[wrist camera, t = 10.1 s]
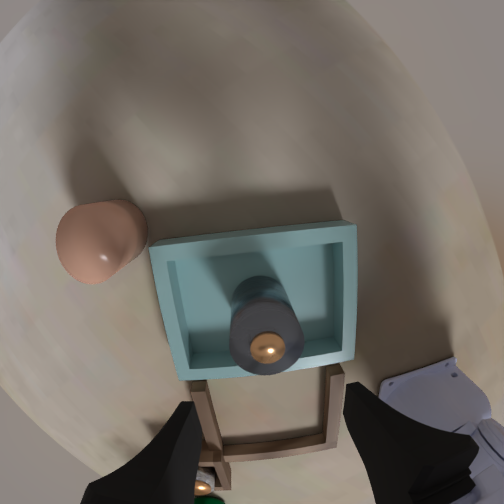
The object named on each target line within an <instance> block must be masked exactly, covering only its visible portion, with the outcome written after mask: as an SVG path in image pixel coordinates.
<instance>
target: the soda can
mask: <svg viewBox="0 0 504 504" xmlns="http://www.w3.org/2000/svg"><path fill="white" fill-rule="evenodd" d="M194 504H225V503H224V502H223V501H222V500H220V499H218V498H215V497H209V496H199V497H195V498H194Z"/></svg>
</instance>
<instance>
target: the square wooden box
mask: <svg viewBox="0 0 504 504" xmlns="http://www.w3.org/2000/svg"><path fill="white" fill-rule="evenodd" d="M223 453H224V445H223V441H222V450H218V451H209V449H208V446H207V443H206V440H202V447H201V453H200V459H199V465H198V466H201V467H203V466H214V468H215V484H214V490H231V468H230V465H229V462H225V460H224V456H223Z"/></svg>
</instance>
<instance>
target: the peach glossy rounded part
mask: <svg viewBox="0 0 504 504" xmlns="http://www.w3.org/2000/svg"><path fill="white" fill-rule="evenodd" d="M147 237H148V227H147V223H146V220H145V217H144V215H143V214H142V212H141V211H140V210H139V208H138V207H136V206H135V205H134V204H132V203H131V202H129V201H126V200H119V199H117V200H110V201H103V202H96V203H90V204H83V205H79V206H75V207H73V208H72V209H70V210H69V211H68V212H67V213H66V214H65V215H64V216H63V217H62V219H61V221H60V223H59V225H58V228H57V233H56V249H57V253H58V257H59V259H60V261H61V263H62V265H63V267H64V268H65V270H66V271H67V272H68V273H69V274H70V275H71V276H72V277H73V278H75V279H76V280H78V281H80V282H83V283H86V284H98V283H101V282H104V281H106V280H107V279H108V278H110V277H111V276H112V275H114V274H115V273H116V272H118V271H119V270H120V269H122V268H123V267H124V266H126V265H127V264H128V263H130V262H131V261H132V260H134V259H135V258H136V257H138V256H139V255H140V253H141V252H142V251H143V249H144V247H145V245H146V242H147Z"/></svg>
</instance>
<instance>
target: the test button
mask: <svg viewBox="0 0 504 504" xmlns="http://www.w3.org/2000/svg"><path fill="white" fill-rule="evenodd" d="M214 484H215V468H214V466H203V467H201V466H198V470H197V476H196V482H195V492H194V495H206V494H209V493H211V492H212V491H213V490H214Z"/></svg>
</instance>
